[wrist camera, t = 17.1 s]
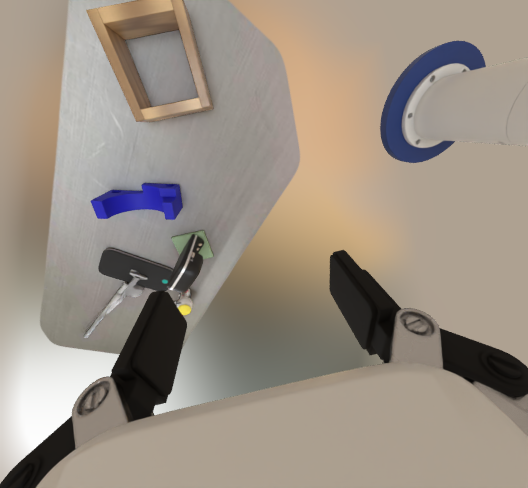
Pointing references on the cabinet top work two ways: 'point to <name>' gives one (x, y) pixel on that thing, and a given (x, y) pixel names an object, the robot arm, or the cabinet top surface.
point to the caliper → (120, 298)
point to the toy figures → (184, 302)
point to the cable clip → (140, 200)
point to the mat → (183, 239)
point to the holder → (143, 24)
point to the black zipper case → (187, 265)
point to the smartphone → (123, 263)
